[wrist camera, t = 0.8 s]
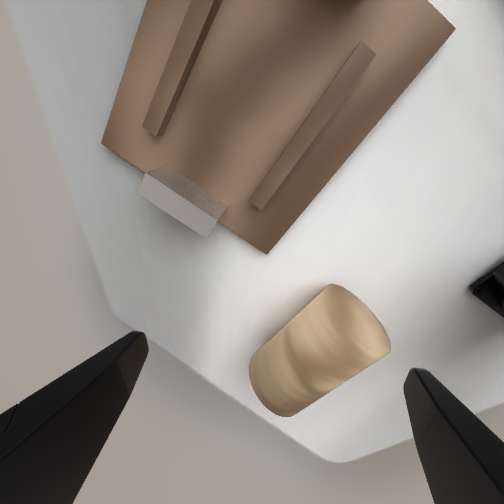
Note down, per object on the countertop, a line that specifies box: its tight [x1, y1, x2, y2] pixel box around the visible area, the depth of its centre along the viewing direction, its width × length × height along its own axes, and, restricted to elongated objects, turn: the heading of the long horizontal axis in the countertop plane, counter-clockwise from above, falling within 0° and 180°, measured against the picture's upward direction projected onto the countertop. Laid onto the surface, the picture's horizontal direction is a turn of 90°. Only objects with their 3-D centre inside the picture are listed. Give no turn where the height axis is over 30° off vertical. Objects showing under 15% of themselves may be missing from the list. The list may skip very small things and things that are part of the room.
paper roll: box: [249, 284, 391, 417], centre depth 21 cm, size 6×10×6 cm, turn 145°
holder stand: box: [101, 0, 456, 254], centre depth 14 cm, size 14×16×4 cm
